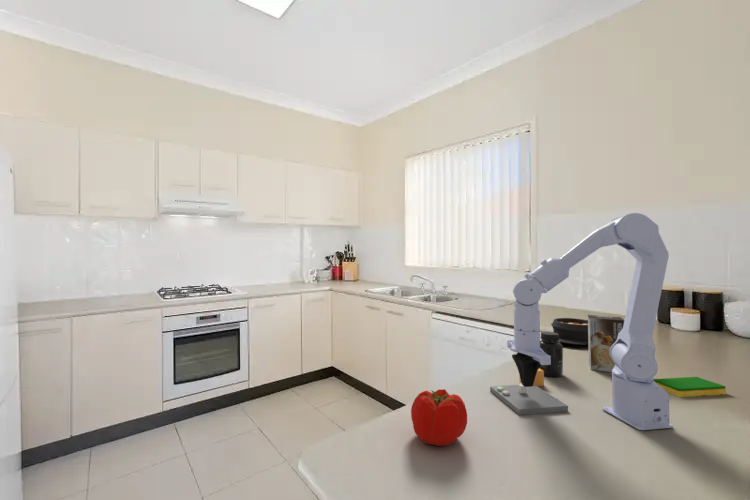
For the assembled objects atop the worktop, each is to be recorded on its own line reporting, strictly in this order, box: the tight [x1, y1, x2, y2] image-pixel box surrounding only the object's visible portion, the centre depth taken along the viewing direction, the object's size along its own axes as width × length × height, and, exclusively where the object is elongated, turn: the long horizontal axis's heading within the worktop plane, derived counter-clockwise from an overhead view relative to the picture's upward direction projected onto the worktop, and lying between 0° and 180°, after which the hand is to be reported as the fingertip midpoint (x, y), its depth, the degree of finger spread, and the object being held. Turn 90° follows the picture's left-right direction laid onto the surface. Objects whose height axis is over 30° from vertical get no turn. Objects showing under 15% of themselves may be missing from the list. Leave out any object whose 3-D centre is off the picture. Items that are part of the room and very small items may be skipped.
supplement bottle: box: [539, 331, 564, 378], centre depth 100 cm, size 7×7×12 cm
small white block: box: [517, 383, 527, 394], centre depth 83 cm, size 1×2×2 cm
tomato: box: [410, 389, 468, 447], centre depth 64 cm, size 11×11×9 cm
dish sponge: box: [653, 376, 727, 398], centre depth 88 cm, size 7×14×2 cm, turn 97°
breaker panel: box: [489, 384, 569, 416], centre depth 81 cm, size 13×12×2 cm
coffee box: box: [587, 314, 625, 373], centre depth 104 cm, size 9×6×16 cm
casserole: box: [550, 317, 588, 346], centre depth 136 cm, size 25×19×8 cm
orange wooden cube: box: [518, 368, 545, 387], centre depth 92 cm, size 4×4×4 cm
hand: (527, 385), depth 81 cm, fingers closed
